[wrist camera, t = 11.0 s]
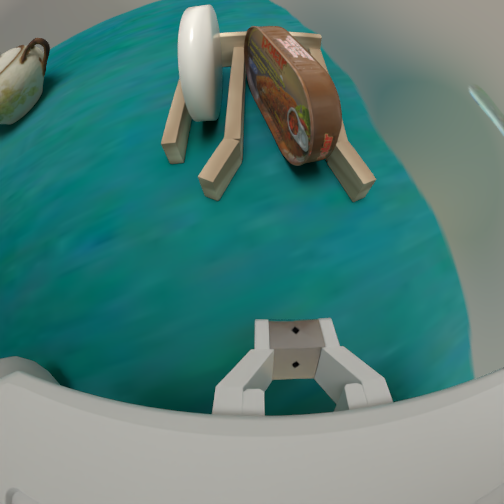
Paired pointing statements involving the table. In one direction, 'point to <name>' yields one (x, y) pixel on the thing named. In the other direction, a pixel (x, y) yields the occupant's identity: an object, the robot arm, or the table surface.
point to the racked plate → (200, 62)
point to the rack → (231, 148)
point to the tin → (292, 94)
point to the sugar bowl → (21, 79)
